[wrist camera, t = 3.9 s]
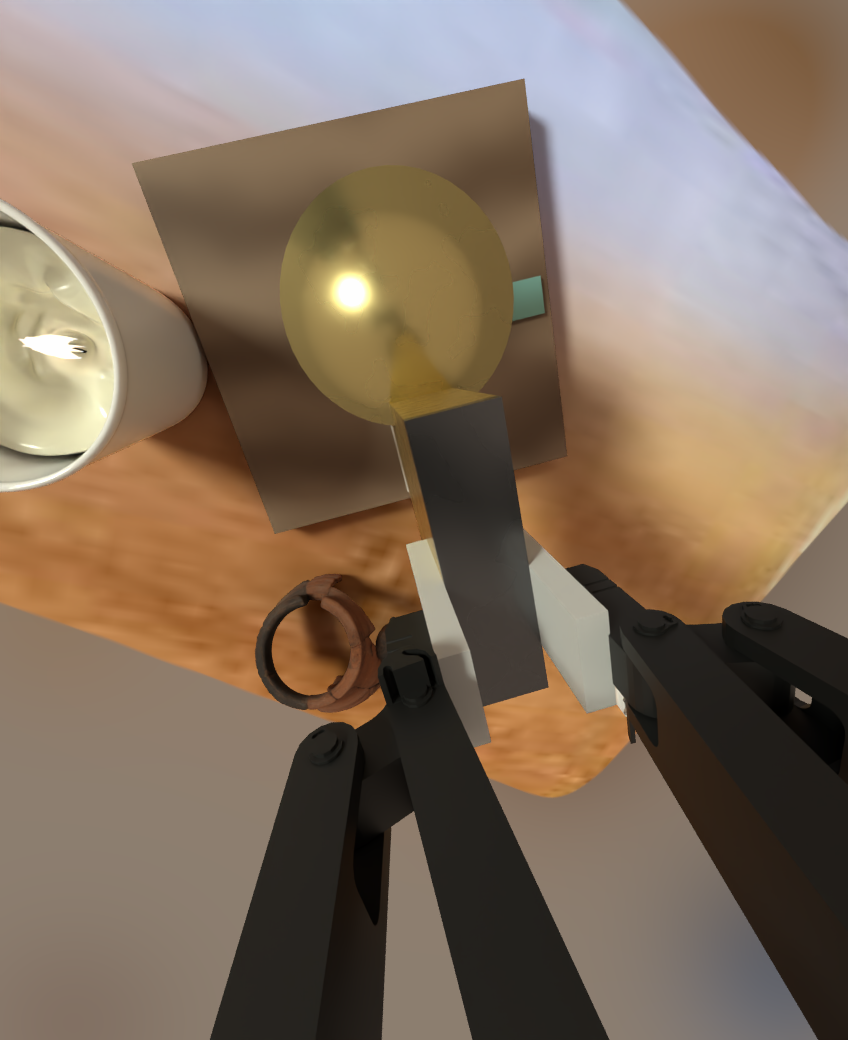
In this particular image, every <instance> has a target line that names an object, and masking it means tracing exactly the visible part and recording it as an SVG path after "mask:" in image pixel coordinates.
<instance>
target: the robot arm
mask: <svg viewBox="0 0 848 1040" xmlns="http://www.w3.org/2000/svg"><path fill="white" fill-rule="evenodd" d="M523 532H524V538H525V544H526V551H527V557H528V563H529V570H530V576H531V582H532V589H533V595H534V601H535V607H536V613H537V620H538V626H539V632H540V638H541V644H542V646H543V648H544V649H545V651H546V652H547V654H548V655H549V657H550V658H551V660H552V661H553V663H554V664H555V666H556V667H557V669H558V670H559V672H560V673H561V675H562V676H563V678H564V679H565V681H566V682H567V684H568V686H569V687H570V689H571V690H572V692H573V693H574V695H575V696H576V698H577V699H578V701H579V702H580V704H581V705H582V707H583V708H584V710H585V711H586V713H590V712H594V711H597V710H600V709H604V708H607V707H610V706H614V705H617V704H616V693H615V687H616V688H617V689H618V691H619V692H620V693H621V694H622V696H623V697H624V698H625V700H626V712H627V724H628V736H629V739H630V742H631V744H632V743H636V739H635V730H636V732H637V734H638V735H639V737H640V739H641V740H642V742H643V744H644V746H645V747H646V749H647V751H648V752H649V754H650V756H651V757H652V759H653V761H654V763H655V764H656V766H657V767H658V769H659V771H660V773H661V774H662V776H663V778H664V779H665V781H666V783H667V785H668V786H669V788H670V789H671V791H672V793H673V795H674V796H675V798H676V800H677V801H678V803H679V805H680V806H681V808H682V810H683V812H684V813H685V815H686V817H687V818H688V820H689V822H690V823H691V825H692V827H693V828H694V830H695V832H696V834H697V835H698V837H699V839H700V840H701V842H702V843H703V845H704V847H705V849H706V850H707V852H708V854H709V856H710V857H711V859H712V861H713V862H714V864H715V866H716V868H717V869H718V871H719V873H720V874H721V876H722V877H723V879H724V881H725V883H726V884H727V886H728V888H729V890H730V891H731V893H732V895H733V896H734V898H735V900H736V901H737V903H738V905H739V906H740V908H741V910H742V911H743V913H744V915H745V916H746V918H747V920H748V922H749V923H750V925H751V927H752V928H753V930H754V932H755V934H756V935H757V937H758V938H759V940H760V942H761V944H762V945H763V947H764V949H765V950H766V952H767V954H768V955H769V957H770V959H771V961H772V962H773V964H774V965H775V967H776V969H777V971H778V973H779V974H780V976H781V978H782V979H783V981H784V983H785V984H786V986H787V988H788V989H789V991H790V993H791V994H792V996H793V998H794V1000H795V1001H796V1003H797V1005H798V1006H799V1008H800V1010H801V1011H802V1013H803V1015H804V1016H805V1018H806V1020H807V1021H808V1023H809V1025H810V1027H811V1028H812V1030H813V1032H814V1033H815V1035H816V1037H817V1039H818V1040H848V639H847V638H845V637H844V636H841V635H839V634H837V633H835V632H833V631H831V630H829V629H827V628H825V627H822V626H820V625H818V624H816V623H814V622H812V621H810V620H807V619H805V618H803V617H801V616H799V615H797V614H795V613H792V612H791V611H788V610H786V609H784V608H781V607H778V606H775V605H772V604H766V603H761V602H741V603H736V604H732V605H730V606H729V607H727V608H726V609H725V610H724V613H723V615H722V623H717V624H700V625H685V624H684V623H683V622H682V621H681V620H680V619H678V618H677V617H675V616H674V615H672V614H669V613H666V612H663V611H659V610H650V609H647V610H646V609H645V608H644V607H642V606H641V605H640V604H639V603H638V602H636V601H635V600H634V599H633V598H632V597H630V596H629V595H628V594H627V593H626V592H624V591H623V590H622V589H621V588H620V587H617V585H616V584H615V583H614V582H612V581H611V580H609V579H608V577H606V576H605V575H604V574H603V573H602V572H600V571H599V570H598V569H595V568H593V567H590V566H587V565H584V564H581V565H577V566H574V567H570V568H566V569H565V568H563V567H562V566H561V565H560V564H559V563H558V562H557V561H556V560H555V559H554V558H553V557H552V556H551V555H550V554H549V553H548V552H547V551H546V550H545V549H544V548H543V547H542V546H541V545H540V544H539V543H538V542H537V541H536V540H535V539H534V538H533V537H532V536H530V535H529V534H528V533H527V532H526V531H525V530H524V529H523ZM406 547H407V551H408V554H409V558H410V562H411V566H412V570H413V574H414V578H415V581H416V585H417V589H418V593H419V597H420V601H421V604H422V608H423V610H421V611H417V612H414V613H410V614H407V615H403V616H400V617H396V618H392V619H391V620H390V622H389V624H388V626H387V628H386V630H385V636H386V647H387V657H386V658H384V659H383V660H382V662H381V664H380V666H379V667H378V676H377V677H378V680H379V683H380V686H381V689H382V692H383V695H384V698H385V701H386V703H387V704H386V706H385V707H384V709H383V710H382V711H381V712H380V713H379V714H378V715H377V716H376V717H374V718H373V719H372V720H370V721H369V722H367V723H365V724H364V725H362V726H360V727H358V728H357V729H354V728H353V727H352V726H351V725H349V724H346V723H344V722H333V723H329V724H327V725H324V726H321V727H319V728H318V729H316V730H315V731H313V732H312V733H310V734H309V735H308V736H307V737H306V738H305V739H304V740H303V741H302V743H301V744H300V745H299V748H298V749H297V751H296V753H295V756H294V759H293V762H292V766H291V769H290V772H289V776H288V779H287V783H286V786H285V789H284V793H283V796H282V800H281V803H280V806H279V809H278V813H277V816H276V819H275V823H274V826H273V830H272V833H271V836H270V840H269V843H268V846H267V850H266V853H265V857H264V860H263V863H262V867H261V870H260V873H259V877H258V880H257V883H256V887H255V890H254V894H253V897H252V900H251V903H250V907H249V910H248V914H247V917H246V920H245V923H244V927H243V930H242V934H241V937H240V940H239V944H238V947H237V950H236V954H235V957H234V961H233V964H232V967H231V970H230V974H229V978H228V981H227V984H226V988H225V991H224V994H223V997H222V1001H221V1004H220V1007H219V1011H218V1014H217V1018H216V1021H215V1024H214V1027H213V1031H212V1034H211V1038H210V1040H382V1019H383V1018H382V1017H383V997H384V975H385V974H384V973H385V954H386V932H387V910H388V887H389V866H390V865H389V864H390V844H391V826H393V825H394V824H395V823H397V822H399V821H400V820H401V819H403V818H404V817H405V816H407V815H409V814H410V813H412V812H413V811H414V812H415V816H416V820H417V824H418V828H419V832H420V836H421V840H422V844H423V847H424V851H425V855H426V859H427V863H428V867H429V871H430V874H431V879H432V883H433V887H434V890H435V895H436V898H437V902H438V906H439V910H440V914H441V918H442V922H443V926H444V930H445V934H446V938H447V942H448V945H449V949H450V953H451V957H452V961H453V965H454V969H455V973H456V976H457V980H458V984H459V989H460V993H461V996H462V1000H463V1004H464V1008H465V1012H466V1016H467V1020H468V1024H469V1028H470V1032H471V1035H472V1039H473V1040H609V1038H608V1036H607V1034H606V1031H605V1029H604V1027H603V1025H602V1023H601V1021H600V1019H599V1017H598V1014H597V1012H596V1010H595V1008H594V1006H593V1003H592V1001H591V999H590V997H589V995H588V993H587V990H586V988H585V986H584V984H583V982H582V980H581V978H580V975H579V973H578V971H577V969H576V967H575V965H574V962H573V960H572V958H571V956H570V954H569V952H568V950H567V947H566V946H565V943H564V941H563V939H562V937H561V935H560V932H559V930H558V928H557V926H556V924H555V922H554V920H553V917H552V915H551V913H550V911H549V909H548V906H547V904H546V902H545V900H544V898H543V896H542V894H541V891H540V889H539V887H538V885H537V883H536V881H535V879H534V876H533V874H532V872H531V870H530V868H529V866H528V863H527V861H526V859H525V857H524V855H523V853H522V851H521V848H520V846H519V844H518V842H517V840H516V838H515V836H514V833H513V831H512V829H511V827H510V825H509V823H508V820H507V818H506V816H505V814H504V812H503V810H502V807H501V805H500V803H499V801H498V799H497V797H496V795H495V792H494V790H493V788H492V786H491V784H490V782H489V779H488V777H487V775H486V773H485V771H484V769H483V766H482V764H481V762H480V760H479V758H478V756H477V754H476V751H475V749H474V747H477V746H480V745H484V744H487V743H490V742H491V739H490V735H489V730H488V726H487V722H486V718H485V713H484V709H483V705H482V700H481V696H480V692H479V688H478V683H477V679H476V675H475V671H474V666H473V662H472V658H471V654H470V650H469V647H468V645H467V642H466V639H465V637H464V634H463V632H462V629H461V627H460V624H459V622H458V619H457V616H456V614H455V611H454V609H453V606H452V604H451V601H450V599H449V596H448V593H447V591H446V589H445V586H444V583H443V581H442V578H441V576H440V573H439V571H438V568H437V565H436V563H435V560H434V558H433V555H432V553H431V550H430V547H429V545H428V542H427V540H426V539H425V540H421V541H417V542H414V543H410V544H406ZM795 688H798V689H800V690H801V691H803V692H804V693H806V694H808V695H809V696H811V697H812V703H811V704H807V703H805V702H803V701H800V700H799V699H798V698H796V697H795Z"/></svg>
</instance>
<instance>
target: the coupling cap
mask: <svg viewBox="0 0 848 1040" xmlns="http://www.w3.org/2000/svg"><path fill="white" fill-rule="evenodd" d="M280 305H281V313H282V319H283V323H284V327H285V331H286V335H287V338H288V340H289V343H290V345H291V348H292V351H293V353H294V354H295V356H296V358H297V360H298V362H299V364H300V366H301V367H302V369H303V370H304V372H305V373H306V374H307V376H308V377H309V379H310V380H311V381H312V382H313V383H314V384H315V386H316V387H317V388H318V389H319V390H320V391H321V392H322V393H323V394H324V395H325V396H326V397H328V398H329V399H330V400H331V401H332V402H334V403H335V404H337V405H338V406H339V407H341V408H342V409H344V410H346V411H347V412H349V413H351V414H353V415H355V416H357V417H360V418H363V419H365V420H368V421H371V422H375V423H380V424H384V425H392V426H393V430H394V434H395V438H396V442H397V446H398V450H399V454H400V458H401V462H402V466H403V469H404V473H405V477H406V481H407V485H408V489H409V493H410V497H411V501H412V505H413V509H414V513H415V517H416V520H417V524H418V528H419V532H420V536H421V540H425V539H426V540H427V542H428V545H429V547H430V550H431V553H432V555H433V558H434V560H435V563H436V565H437V568H438V571H439V573H440V576H441V578H442V581H443V583H444V586H445V589H446V591H447V593H448V596H449V599H450V601H451V604H452V606H453V609H454V611H455V614H456V616H457V619H458V622H459V624H460V627H461V629H462V632H463V634H464V637H465V639H466V642H467V645H468V647H469V650H470V654H471V658H472V662H473V666H474V671H475V675H476V679H477V683H478V688H479V692H480V696H481V700H482V705H483V706H487V705H490V704H493V703H497V702H500V701H504V700H507V699H510V698H514V697H517V696H521V695H524V694H527V693H531V692H534V691H538V690H541V689H544V688H548V681H547V675H546V669H545V662H544V656H543V650H542V644H541V638H540V632H539V626H538V620H537V613H536V607H535V601H534V595H533V589H532V582H531V576H530V570H529V563H528V557H527V551H526V544H525V538H524V532H523V526H522V519H521V513H520V507H519V501H518V495H517V488H516V482H515V476H514V470H513V463H512V457H511V451H510V445H509V439H508V432H507V426H506V420H505V414H504V408H503V401H502V396H496V395H491V394H485V393H479V391H480V390H481V389H482V388H483V386H484V385H485V384H486V383H487V381H488V380H489V379H490V377H491V376H492V374H493V373H494V371H495V369H496V368H497V366H498V364H499V362H500V360H501V358H502V355H503V353H504V350H505V348H506V345H507V342H508V338H509V335H510V331H511V325H512V318H513V305H514V294H513V281H512V276H511V271H510V266H509V262H508V259H507V256H506V252H505V249H504V247H503V244H502V242H501V240H500V238H499V236H498V234H497V232H496V230H495V228H494V227H493V225H492V223H491V222H490V220H489V219H488V217H487V216H486V215H485V213H484V212H483V211H482V210H481V208H480V207H479V206H478V205H477V203H476V202H474V201H473V200H472V199H471V198H470V197H469V196H468V195H467V194H466V193H465V192H464V191H462V190H461V189H460V188H458V187H457V186H455V185H454V184H453V183H451V182H450V181H448V180H446V179H444V178H442V177H440V176H438V175H436V174H434V173H431V172H428V171H425V170H422V169H420V168H414V167H409V166H403V165H383V166H376V167H369V168H366V169H363V170H359V171H356V172H353V173H351V174H349V175H347V176H345V177H343V178H341V179H339V180H337V181H336V182H335V183H333V184H332V185H330V186H329V187H328V188H326V189H325V190H324V191H323V192H321V193H320V194H319V195H318V196H317V197H316V198H315V199H314V200H313V201H312V202H311V204H310V205H309V206H308V208H307V209H306V210H305V211H304V213H303V214H302V215H301V217H300V219H299V221H298V222H297V224H296V226H295V228H294V230H293V231H292V234H291V236H290V239H289V242H288V244H287V247H286V250H285V254H284V258H283V262H282V268H281V276H280Z"/></svg>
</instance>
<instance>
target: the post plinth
mask: <svg viewBox="0 0 848 1040" xmlns="http://www.w3.org/2000/svg"><path fill="white" fill-rule="evenodd" d="M132 165H133V168H134V170H135V173H136V176H137V178H138V181H139V183H140V186H141V189H142V191H143V194H144V196H145V199H146V201H147V204H148V207H149V209H150V212H151V214H152V217H153V220H154V222H155V225H156V227H157V230H158V232H159V235H160V238H161V240H162V243H163V245H164V248H165V251H166V253H167V256H168V258H169V261H170V264H171V266H172V269H173V271H174V274H175V276H176V279H177V282H178V284H179V287H180V289H181V292H182V295H183V297H184V300H185V302H186V305H187V308H188V310H189V313H190V315H191V318H192V320H193V323H194V326H195V328H196V331H197V333H198V336H199V339H200V341H201V344H202V346H203V349H204V352H205V354H206V357H207V359H208V362H209V364H210V367H211V370H212V372H213V375H214V377H215V380H216V383H217V385H218V388H219V390H220V393H221V396H222V398H223V401H224V403H225V406H226V408H227V411H228V414H229V416H230V419H231V421H232V424H233V427H234V429H235V432H236V434H237V437H238V440H239V442H240V445H241V447H242V450H243V452H244V455H245V458H246V460H247V463H248V465H249V468H250V471H251V473H252V476H253V478H254V481H255V484H256V486H257V489H258V491H259V494H260V496H261V499H262V502H263V504H264V507H265V509H266V512H267V515H268V517H269V520H270V522H271V525H272V527H273V530H274V533H275V534H276V533H280V532H284V531H288V530H291V529H295V528H299V527H303V526H306V525H310V524H314V523H318V522H321V521H325V520H329V519H333V518H336V517H340V516H344V515H348V514H352V513H355V512H359V511H363V510H367V509H370V508H374V507H378V506H382V505H385V504H389V503H393V502H397V501H400V500H404V499H408V498H411V497H410V493H409V489H408V485H407V481H406V477H405V473H404V469H403V466H402V462H401V458H400V454H399V450H398V446H397V442H396V438H395V434H394V430H393V426H392V425H384V424H380V423H375V422H371V421H368V420H365V419H363V418H360V417H357V416H355V415H353V414H351V413H349V412H347V411H346V410H344V409H342V408H341V407H339V406H338V405H337V404H335V403H334V402H332V401H331V400H330V399H329V398H328V397H326V396H325V395H324V394H323V393H322V392H321V391H320V390H319V389H318V388H317V387H316V386H315V384H314V383H313V382H312V381H311V380H310V379H309V377H308V376H307V374H306V373H305V372H304V370H303V369H302V367H301V366H300V364H299V362H298V360H297V358H296V356H295V354H294V353H293V351H292V348H291V345H290V343H289V340H288V338H287V335H286V331H285V327H284V323H283V319H282V313H281V305H280V276H281V268H282V262H283V258H284V254H285V250H286V247H287V244H288V242H289V239H290V236H291V234H292V231H293V230H294V228H295V226H296V224H297V222H298V221H299V219H300V217H301V215H302V214H303V213H304V211H305V210H306V209H307V208H308V206H309V205H310V204H311V202H312V201H313V200H314V199H315V198H316V197H317V196H318V195H319V194H320V193H321V192H323V191H324V190H325V189H326V188H328V187H329V186H330V185H332V184H333V183H335V182H336V181H337V180H339V179H341V178H343V177H345V176H347V175H349V174H351V173H353V172H356V171H359V170H363V169H366V168H369V167H376V166H383V165H403V166H409V167H414V168H420V169H422V170H425V171H428V172H431V173H434V174H436V175H438V176H440V177H442V178H444V179H446V180H448V181H450V182H451V183H453V184H454V185H455V186H457V187H458V188H460V189H461V190H462V191H464V192H465V193H466V194H467V195H468V196H469V197H470V198H471V199H472V200H473V201H474V202H476V203H477V205H478V206H479V207H480V208H481V210H482V211H483V212H484V213H485V215H486V216H487V217H488V219H489V220H490V222H491V223H492V225H493V227H494V228H495V230H496V232H497V234H498V236H499V238H500V240H501V242H502V244H503V247H504V249H505V252H506V256H507V259H508V262H509V266H510V271H511V276H512V281H513V294H514V305H513V318H512V325H511V331H510V335H509V338H508V342H507V345H506V348H505V350H504V353H503V355H502V358H501V360H500V362H499V364H498V366H497V368H496V369H495V371H494V373H493V374H492V376H491V377H490V379H489V380H488V381H487V383H486V384H485V385H484V386H483V388H482V389H481V390H480V391H479V393H485V394H491V395H496V396H502V401H503V408H504V414H505V420H506V426H507V432H508V439H509V445H510V451H511V457H512V463H513V470H517V469H521V468H525V467H529V466H532V465H536V464H540V463H544V462H547V461H551V460H555V459H559V458H562V457H566V456H567V450H566V441H565V432H564V423H563V415H562V406H561V397H560V388H559V379H558V371H557V362H556V353H555V344H554V335H553V326H552V318H551V309H550V300H549V291H548V282H547V274H546V265H545V256H544V247H543V238H542V230H541V221H540V212H539V203H538V194H537V185H536V177H535V168H534V159H533V150H532V141H531V133H530V124H529V115H528V106H527V97H526V88H525V80H524V79H521V80H516V81H511V82H507V83H502V84H497V85H493V86H488V87H483V88H479V89H474V90H470V91H465V92H460V93H456V94H451V95H446V96H442V97H437V98H433V99H428V100H423V101H419V102H414V103H409V104H405V105H400V106H396V107H391V108H386V109H382V110H377V111H372V112H368V113H363V114H358V115H354V116H349V117H345V118H340V119H335V120H331V121H326V122H321V123H317V124H312V125H308V126H303V127H298V128H294V129H289V130H284V131H280V132H275V133H270V134H266V135H261V136H257V137H252V138H247V139H243V140H238V141H233V142H229V143H224V144H220V145H215V146H210V147H206V148H201V149H196V150H192V151H187V152H183V153H178V154H173V155H169V156H164V157H159V158H155V159H150V160H145V161H141V162H136V163H132Z"/></svg>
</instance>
